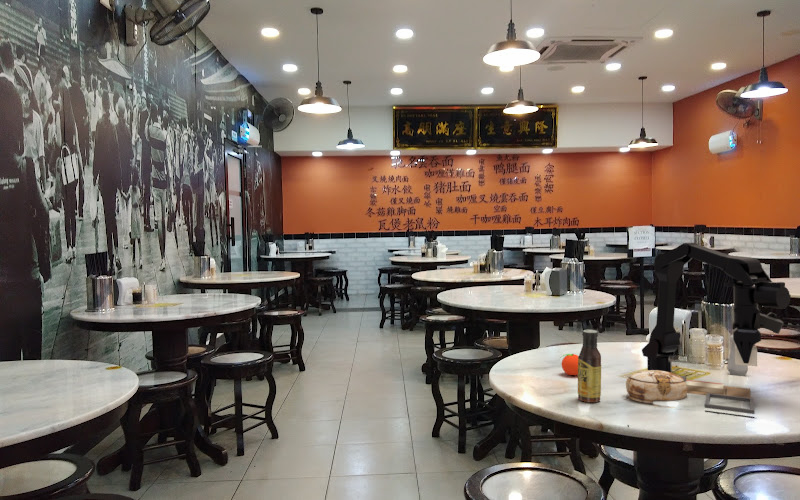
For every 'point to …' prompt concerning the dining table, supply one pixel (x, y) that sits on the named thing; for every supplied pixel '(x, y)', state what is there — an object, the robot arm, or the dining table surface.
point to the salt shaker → (732, 367)
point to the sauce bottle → (589, 368)
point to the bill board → (731, 390)
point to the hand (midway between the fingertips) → (745, 360)
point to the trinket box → (655, 386)
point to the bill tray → (729, 406)
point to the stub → (751, 361)
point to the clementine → (570, 364)
